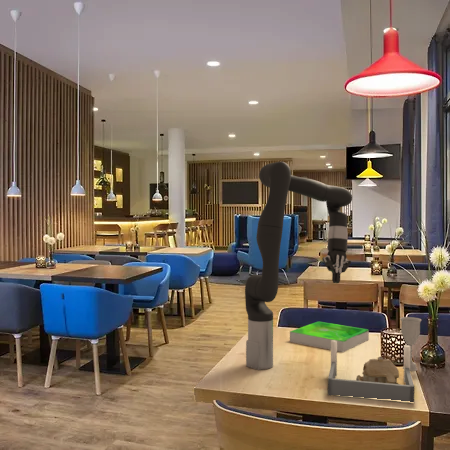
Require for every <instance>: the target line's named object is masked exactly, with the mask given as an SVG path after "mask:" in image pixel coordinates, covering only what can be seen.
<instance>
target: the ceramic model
mask: <svg viewBox="0 0 450 450" xmlns="http://www.w3.org/2000/svg"><path fill="white" fill-rule="evenodd" d="M362 370H363V371H362V373H361V374H362V376H361V375H360V374H358V375H356V378H355V380H357V381H368V382H379V383H390V384H399V382H397V380H398V379H399V378H400V372H399V371H400V370H399V369H398V367H397V366H396V365H395V364H394V363H393V362H392V361H391V359H387V358H384V357H382V356H378V358H371V359H369V360H368V361H366V362H364V363H363V368H362Z"/></svg>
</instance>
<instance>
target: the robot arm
mask: <svg viewBox="0 0 450 450" xmlns="http://www.w3.org/2000/svg"><path fill="white" fill-rule="evenodd" d="M258 177H259V180H260V183H261V184H262V185H264V187H267V188H269V191H268V198H267V200H266V202H265V203H266V204H265V205H264V208H263V209H262V211H261V214H260V216H259V219H258V221H257V229H256V244H257V247H258V250H259V253H260V256H261V260H262V270H261V274H252V275H250V276H249V277H248V278H247V279H246V282H245V287H244V299H245V300H244V301H245V312H246V314H247V340H246V342H245V358H246V359H245V366H246V367H248V368H251V369H254V370H258V371H260V370H267V369H271V368H273V366H274V313H273V311H272V310H271V309H270V307H268V306H267V303H271V302H273V301H274V300H275V299H276V297H277V295H278V291H279V272H280V270H279V268H280V266H279V265H280V255H281V254H280V253H281V243H282V236H283V229H284V228H283V227H284V218H285V211H286V203H287V198H288V193H289V192H292V193H294V194H298V195H302V196H304V197H307V198H310V199H312V200H315V201H318V202H323V203H326V209H327V213H328V218H329V223H328V230H327V231H328V233H327V251H328V252H327V255H326V256H325V257H324V256H323V257H322V261H323V263H324V265H325V267H326V269H327V271H328V272H331V279H332V283H333V284H340V282H341V274H342V273H345V272H346V271H347V269H348V268H349V266H350V265H351V264H352V260H349V259H348V258H347V251H348V236H349V233H348V215H347V214H346V212H342V211H341V208H343V207H346V206H348V205H350V204H351V203H352V200H353V195H352V193H351V192H350V190H348V189H347V188H345V187H342V186H337V185H329V184H327V183H323V182H321V181H318V180H315V179H313V178H306V177H300V176H296V175H292V171H291V167H290V166H289V164H288V163H286V162H284V161H275V162H271V163H267V164H265V165H263V166H262V167H261V168H260V171H259V173H258Z"/></svg>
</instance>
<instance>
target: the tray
mask: <svg viewBox="0 0 450 450" xmlns="http://www.w3.org/2000/svg"><path fill="white" fill-rule="evenodd" d="M369 333H370V332H369V329H367V328H361V327H356V326H355V327H354V326H351V325H350V326H349V325H342V324H336V323H330V322H324V321H316V322H313V323H310V324H307V325H304V326H301V327H299V328H295V329H293V330H290V331H289V343H294V344H299V345H304V346H310V347H314V348H320V349H324V350H329V351H331V340H336V341H337V352H339V353H344V352H347V351H349V350H350V349H352V348H355V347H357V346H359V345H361V344H363V343H364V342H367V341H369V340H370V338H369V335H370V334H369Z"/></svg>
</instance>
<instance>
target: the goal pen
mask: <svg viewBox="0 0 450 450" xmlns="http://www.w3.org/2000/svg"><path fill="white" fill-rule="evenodd" d="M403 367H404V369H403V383H405V384H401V383H398V384H390V383H379V382H368V381H357V380H356V379H343V378H336V377H337V375H338V373H337V372H338V369H337V368H338V351H337V341H336V340H331V350H330V369H329V373H328V377H327V378H328V379H327V396H331V395H340V396H339V397H341V396H353V397H364V398H377V399H391V400H401V401H410V402H414V403H415V386H414V385H415V384H414V380H413V377H412V374H411V371H410V346H409V345H408V344H407V345H406V344H405V345H404V346H403Z"/></svg>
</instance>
